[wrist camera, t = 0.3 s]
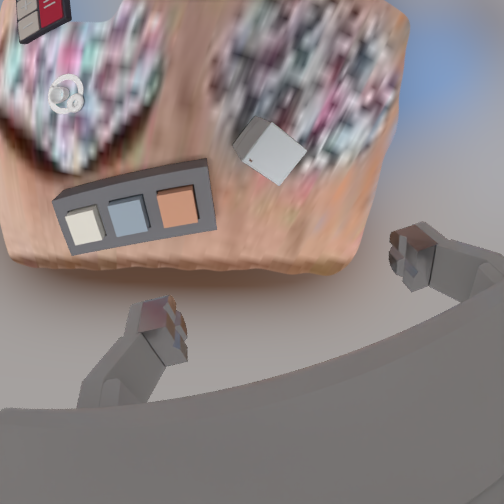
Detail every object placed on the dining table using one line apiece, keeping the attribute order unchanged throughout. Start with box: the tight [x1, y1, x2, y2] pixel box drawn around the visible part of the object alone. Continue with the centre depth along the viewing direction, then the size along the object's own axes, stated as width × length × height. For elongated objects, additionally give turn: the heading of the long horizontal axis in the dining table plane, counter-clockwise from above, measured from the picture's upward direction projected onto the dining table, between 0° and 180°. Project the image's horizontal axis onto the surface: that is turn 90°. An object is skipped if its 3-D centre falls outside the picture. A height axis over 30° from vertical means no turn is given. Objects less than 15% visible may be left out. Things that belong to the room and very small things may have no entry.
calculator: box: [16, 0, 72, 44], centre depth 26 cm, size 11×4×15 cm
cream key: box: [65, 204, 106, 246], centre depth 48 cm, size 6×6×4 cm
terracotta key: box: [157, 184, 198, 228], centre depth 50 cm, size 6×6×4 cm
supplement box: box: [232, 116, 307, 186], centre depth 47 cm, size 7×7×13 cm
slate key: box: [107, 194, 150, 237], centre depth 49 cm, size 6×6×4 cm
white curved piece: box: [48, 74, 84, 114], centre depth 38 cm, size 9×8×4 cm
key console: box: [52, 158, 217, 256], centre depth 51 cm, size 12×30×6 cm, turn 95°
